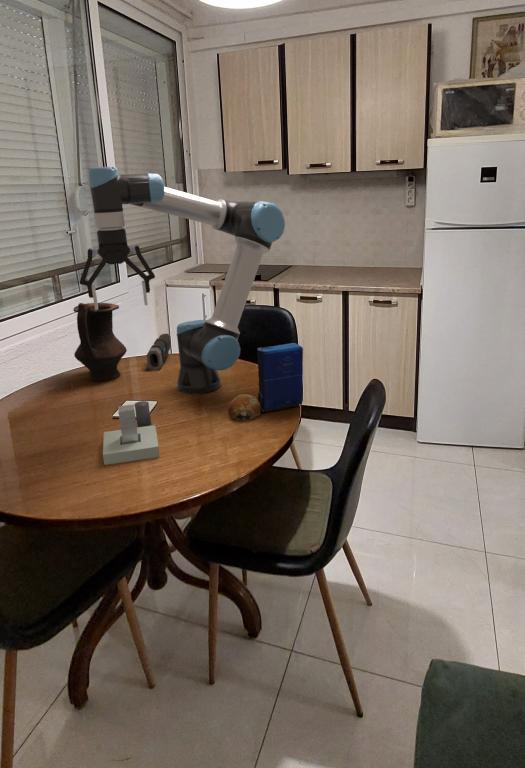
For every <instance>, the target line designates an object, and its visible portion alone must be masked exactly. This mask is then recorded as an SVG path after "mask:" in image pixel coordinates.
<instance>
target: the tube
mask: <svg viewBox="0 0 525 768" xmlns="http://www.w3.org/2000/svg"><path fill="white" fill-rule="evenodd" d="M171 343H172V342H171V336H170V334H169V333H162V334H160V335H159V337H158V338H156V339H155V340H154V342H153V344H152V345H151V347H150V349H148V352H147V354H146V360H147V367H148V369H150V371H152V372H153V371H155V372H156V371H157V372H158V371H160V370H161V368H162V366H163V364H164V362H165V361H166V359H167V357H168V355H169V351H170V350H171V345H172V344H171Z"/></svg>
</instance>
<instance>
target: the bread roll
mask: <svg viewBox="0 0 525 768" xmlns="http://www.w3.org/2000/svg"><path fill="white" fill-rule="evenodd" d="M261 413H262V412H261V405H260V402H259V401H258V398H256V397H255V396H254V395H251V394H248V393H247V394H246V393H241V394H238V395H237V396H235V397H234V398H233V399H232V400H231V401H230V402H229V404H228V416H229V417H230V418H231V419H233V420H236V421H243V422H245V421H250V420H252V419H256V418H258V417H259V416H260V415H261Z"/></svg>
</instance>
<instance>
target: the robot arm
mask: <svg viewBox="0 0 525 768" xmlns="http://www.w3.org/2000/svg"><path fill="white" fill-rule="evenodd" d="M88 177H89V178H88V179H89V180H88V181H89V188H90V194H91V200H92V206H93V207H92V208H93V216H94V223H95V228H97V231H96V235H97V242H98V243H97V244H98V249H96V248H91V247H90V248H88V249H87V259H86V261H85V265H84V268H83V270H82V273H81V276H80V279H79V284H80V285H83V286H86V288H87V293H88V297H89V298H90V299H91V298H92V299H93V303H94V306H95V310H98V303H99V302H98V297H97V296H98V295H97V292H96V291H97V289H96V285H95V284H93V283H94V282H95V280H96V279H97V277H98V276H99V274H100V273H101V271H102V270H103V268H104V267H105V266H106V264H108V265H115V264H117V265H121V264H123V263H126V264H127V266H129V267H130V268H131V269H132V270H133V272H135V274H137V275H138V276H139V277H141V278H142V279H143V280H142V281H141V284H142V285H141V286H142V295H143V301H144V306H148V304H149V303H148V298H147V297H148V296H147V293H151V288H150V282H151V280H153V279H156V276H155V273H154V271H153V270H152V268H151V267H150V265H149V263H148V262H147V261H146V259H145V257H144V256H143V254H142V253H141V249H140V246H139V245H138V244H136V245H134V246H129V244H128V240H127V239H128V238H127V231H126V229H125V228H124V227H125V226H126V224H125V216H124V215H125V213H124V208H123V205H131V206H136V207H140V208H145V209H149V210H152V211H154V212H155V211H156V212H160V213H162V214H163V213H164V214H167V215H171V216H175V217H178V218H179V217H180V218H183V219H188V220H191V221H194V222H198V223H202V224H207V225H210V226H211V228H212V229H213V230H217V231H220V232H224V233H225V234H229V235H230V236H231V235H232V236H234V238H233V239H234V241H235V243H236V247H235V250H234V252H233V256H232V259H231V262H230V265H229V267H228V270H227V273H226V275H225V279H224V282H223V285H222V287H221V291H220V293H219V296H218V297H217V298H218V299H217V301H216V304H215V307H214V310H213V313H212V316H211V317H210V318H208V319H197V320H188V321H184V322H181V323H179V324H177V326H176V337H177V338H176V340H177V347H178V354H179V355H178V357H179V365H180V367H179V372H178V375H177V381H176V387H177V390H178V391H179V392H181V393H185V394H189V395H191V394H192V395H194V394H195V395H196V394H197V395H198V394H206V393H210V392H213V391H217V390H218V389H219V388H220V387H221V386H222V379H221V376H220V374H219V371H225V370H228V369H229V368H232V367H233V366H234V365H235V364H236V362H237V361H238V359H239V357H240V355H241V346H240V343H239V337H240V334H241V332H240V330H239V327H238V326H239V324H240V321H241V317H242V314H243V311H244V309H245V306H246V303H247V301H248V298H249V295H250V292H251V289H252V287H253V284H254V281H255V278H256V276H257V272H258V270H259V267H260V264H261V262H262V259H263V258H262V257H263V255H265V254H267V253H270V250H271V247H272V246H273V245H272V244H273V243H274V242H276V241H277V240H279V239H281V237H282V235H283V233H284V232H285V226H286V221H285V216H284V214H283V211H282V210H281V209H280V207H279V206H278V205H276V204H275V203H272V202H267V201H264V200H261V201H245V200H244V201H231V200H226V199H222V198H219V199H217V200H213V199H210V198H206V197H203V196H200V195H196V194H193V193H188V192H185V191H181V190H177V189H175V188H171V187H168V186H165V183H164V180H163V178H162V176H161V175H160V174H158V173H150V172H147V173H131V174H129V173H128V174H121V173H119V170H118V168H117V167H116V166H96V167H91V168H90V169H89V171H88ZM130 252H132V254H134V255H136V256H137V258H138V260H139V261H140V263H141V264H142V266H143V268H144V269H145V270H146V273H147V274H148V275H146V273H145V272H144V271H143V270H142V269H140V267H138V266H137V265H136V264H135V263H134V262H133V261H132V260H131V259H130V258H129V257H128V256H129V254H130ZM97 254H98V255H99V256H100V257H101V258H102V260H100V262H99V264H98V265H97V266H96V269H95V270H94V271H93V273H92V274H91V276H90V278H89V279H86V278H87V275H88V273H89V269H90V267H91V265H92V261H93V258H95V257H96V255H97ZM141 278H140V279H141Z"/></svg>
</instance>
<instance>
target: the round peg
mask: <svg viewBox="0 0 525 768" xmlns="http://www.w3.org/2000/svg"><path fill="white" fill-rule="evenodd" d="M149 403H150V402H149V401H147V400H141V401H137V402H135V403H134V410H135V417H136V424H137V428H138V427H145V426H152V419H151V411H150V404H149Z"/></svg>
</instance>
